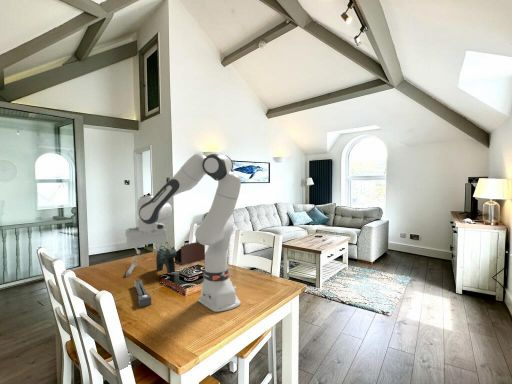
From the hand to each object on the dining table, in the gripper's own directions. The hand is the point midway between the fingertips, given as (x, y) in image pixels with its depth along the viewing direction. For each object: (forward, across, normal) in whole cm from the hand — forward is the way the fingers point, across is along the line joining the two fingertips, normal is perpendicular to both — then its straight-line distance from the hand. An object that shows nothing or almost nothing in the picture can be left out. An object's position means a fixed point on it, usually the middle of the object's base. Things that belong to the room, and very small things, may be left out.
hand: (148, 252), depth 138 cm
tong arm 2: (+21, -3, +1) cm, 21 cm away
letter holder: (+21, +36, +42) cm, 59 cm away
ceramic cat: (+21, +14, +26) cm, 36 cm away
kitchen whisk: (+21, -2, +45) cm, 50 cm away
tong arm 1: (+21, -5, +1) cm, 21 cm away
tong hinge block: (+21, -5, -14) cm, 26 cm away
